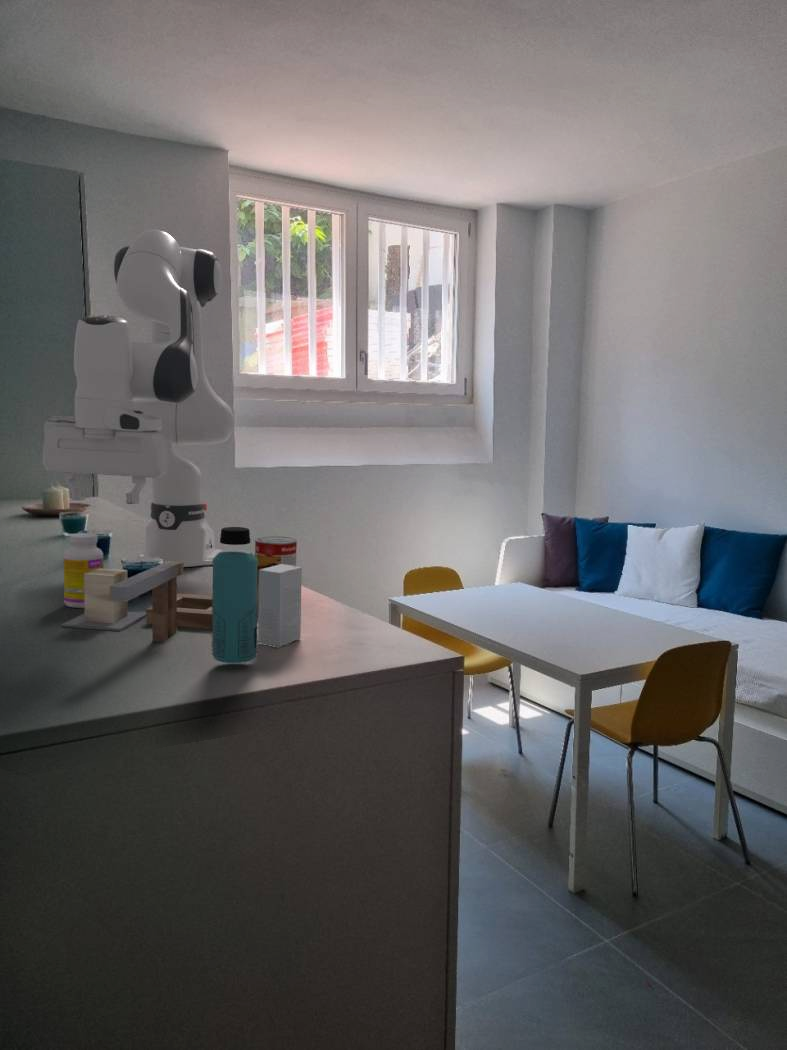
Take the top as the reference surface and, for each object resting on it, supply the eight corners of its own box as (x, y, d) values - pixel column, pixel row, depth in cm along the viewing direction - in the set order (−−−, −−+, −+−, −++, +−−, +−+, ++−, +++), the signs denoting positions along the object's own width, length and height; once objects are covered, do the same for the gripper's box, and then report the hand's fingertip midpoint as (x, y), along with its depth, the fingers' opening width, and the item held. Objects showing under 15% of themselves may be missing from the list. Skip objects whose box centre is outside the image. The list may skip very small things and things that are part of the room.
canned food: (266, 593, 149) (268, 535, 148) (301, 598, 147) (303, 538, 145) (246, 602, 142) (247, 540, 140) (283, 607, 139) (284, 544, 138)
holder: (175, 606, 136) (175, 557, 135) (238, 611, 135) (239, 561, 134) (120, 639, 115) (120, 581, 114) (194, 644, 114) (194, 586, 113)
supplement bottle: (89, 610, 131) (88, 539, 129) (56, 607, 132) (54, 536, 131) (111, 601, 138) (110, 533, 136) (79, 598, 139) (78, 531, 137)
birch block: (100, 613, 128) (99, 568, 127) (127, 615, 127) (127, 570, 126) (84, 621, 123) (84, 574, 122) (113, 623, 122) (113, 576, 121)
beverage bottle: (261, 672, 103) (264, 530, 101) (212, 675, 101) (214, 531, 98) (253, 657, 109) (256, 523, 107) (207, 660, 107) (209, 524, 104)
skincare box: (279, 635, 121) (281, 563, 120) (301, 639, 119) (303, 566, 118) (256, 644, 116) (257, 569, 114) (278, 648, 114) (280, 572, 112)
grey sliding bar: (165, 573, 120) (165, 561, 120) (183, 574, 120) (183, 562, 119) (107, 600, 101) (107, 586, 101) (128, 601, 101) (128, 587, 101)
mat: (93, 611, 131) (93, 609, 130) (147, 615, 129) (147, 613, 129) (62, 626, 121) (62, 624, 121) (120, 631, 120) (120, 628, 120)
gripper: (32, 414, 118) (35, 500, 120) (155, 420, 116) (155, 508, 118) (55, 414, 125) (57, 495, 127) (171, 420, 122) (171, 503, 124)
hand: (105, 501), depth 122 cm, fingers open, 8 cm apart
